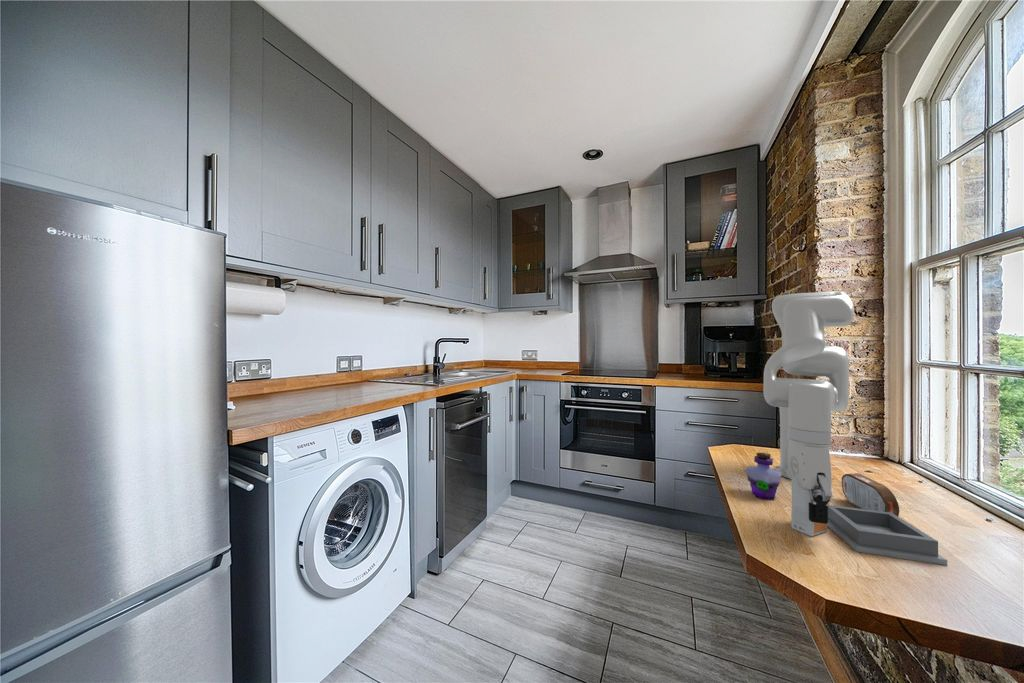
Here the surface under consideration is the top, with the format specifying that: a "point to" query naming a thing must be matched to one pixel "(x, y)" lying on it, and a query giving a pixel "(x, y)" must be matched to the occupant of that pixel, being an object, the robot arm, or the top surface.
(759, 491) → the potion bottle
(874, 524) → the grey square tray
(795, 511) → the skincare box
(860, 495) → the tin
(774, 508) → the top surface
